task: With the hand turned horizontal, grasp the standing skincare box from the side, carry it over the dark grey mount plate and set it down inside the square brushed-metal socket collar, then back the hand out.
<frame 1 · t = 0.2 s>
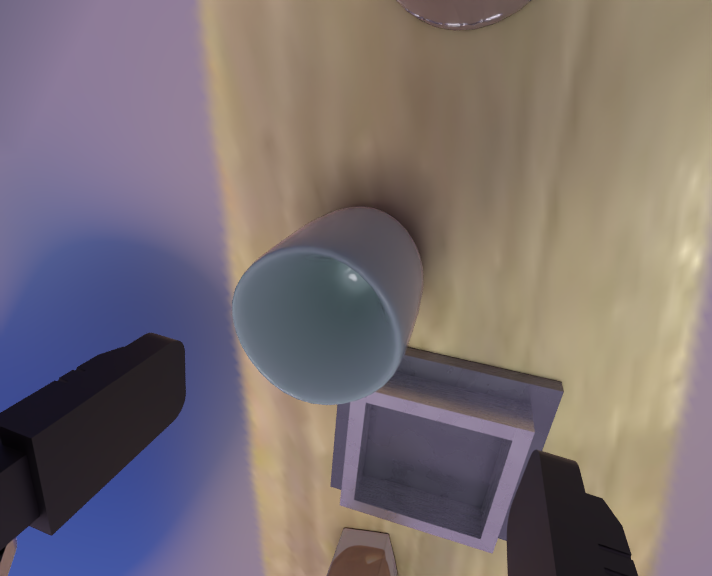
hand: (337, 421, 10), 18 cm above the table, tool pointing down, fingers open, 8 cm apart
cup: (370, 254, 27), on the table
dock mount: (431, 436, 32), on the table
skincare box: (371, 550, 39), on the table
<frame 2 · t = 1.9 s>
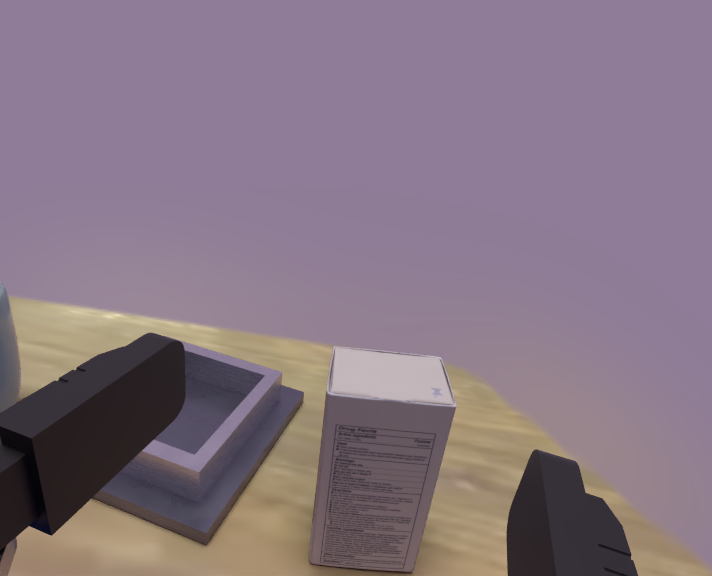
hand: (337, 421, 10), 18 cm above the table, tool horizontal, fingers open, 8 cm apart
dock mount: (180, 428, 32), on the table
skincare box: (358, 537, 27), on the table
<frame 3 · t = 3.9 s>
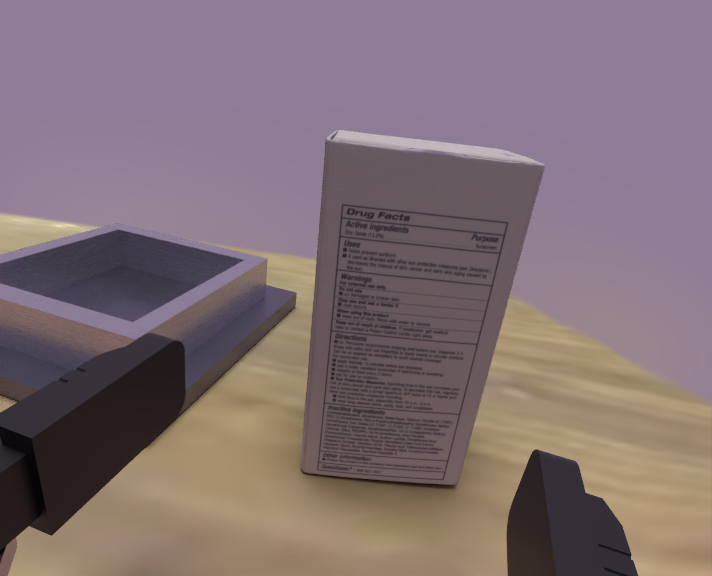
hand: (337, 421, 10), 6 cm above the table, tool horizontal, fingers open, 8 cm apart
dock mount: (128, 324, 24), on the table
skincare box: (373, 445, 18), on the table
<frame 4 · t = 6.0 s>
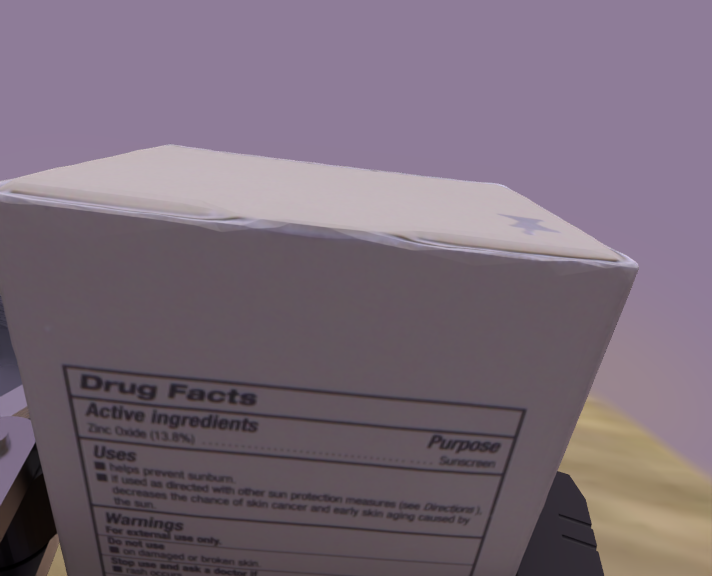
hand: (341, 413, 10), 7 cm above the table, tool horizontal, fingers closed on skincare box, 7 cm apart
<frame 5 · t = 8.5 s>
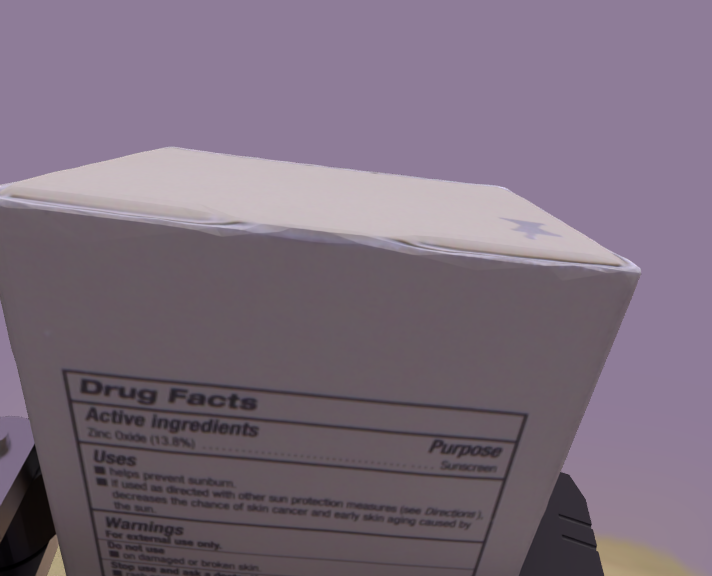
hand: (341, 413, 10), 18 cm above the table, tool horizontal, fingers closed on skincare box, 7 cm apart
when the fingers open (8 cm above the table, at t = 11.0 s): skincare box stays where it is, resting on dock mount.
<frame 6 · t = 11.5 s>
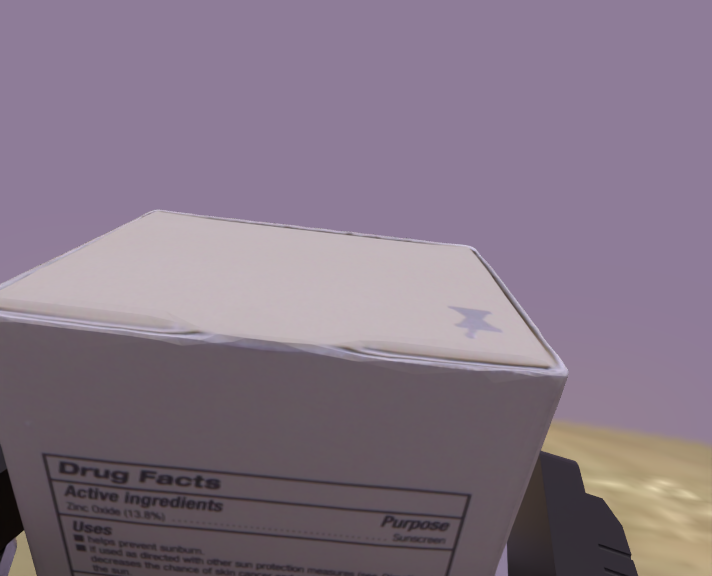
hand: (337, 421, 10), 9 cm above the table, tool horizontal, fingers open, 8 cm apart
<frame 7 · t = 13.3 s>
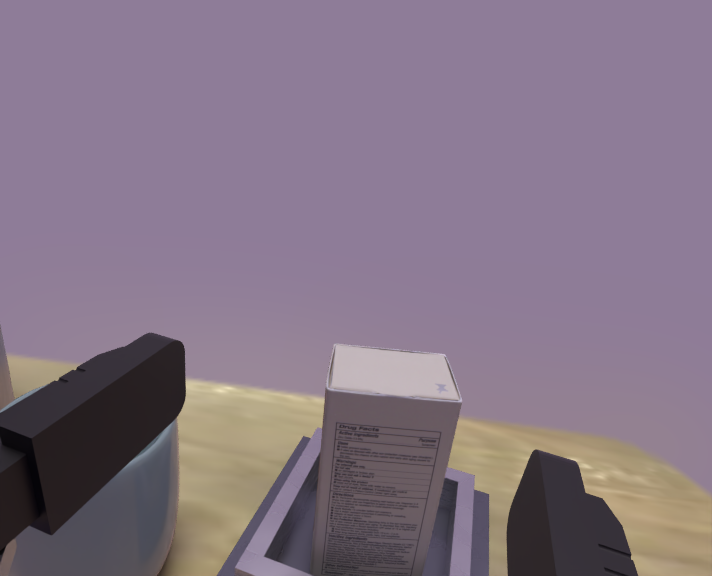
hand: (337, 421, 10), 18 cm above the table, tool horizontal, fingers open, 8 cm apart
cup: (104, 573, 23), on the table
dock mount: (364, 557, 26), on the table
skincare box: (362, 548, 25), point 1 cm above the table, touching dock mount
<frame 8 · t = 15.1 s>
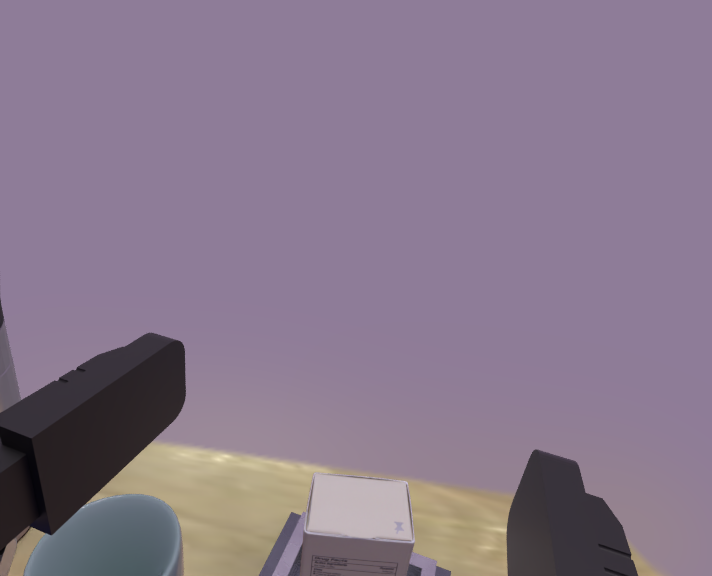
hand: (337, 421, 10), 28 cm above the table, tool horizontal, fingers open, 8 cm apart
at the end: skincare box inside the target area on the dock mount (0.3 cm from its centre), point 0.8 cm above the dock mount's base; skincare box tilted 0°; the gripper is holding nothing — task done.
